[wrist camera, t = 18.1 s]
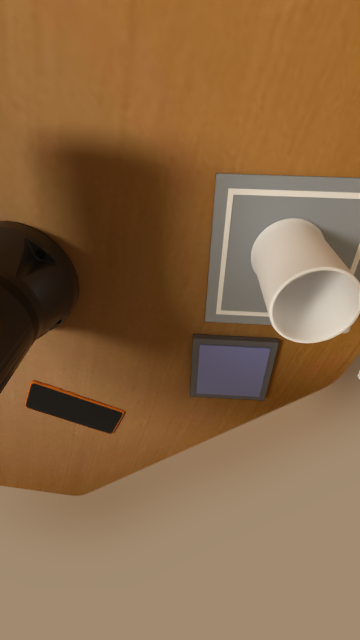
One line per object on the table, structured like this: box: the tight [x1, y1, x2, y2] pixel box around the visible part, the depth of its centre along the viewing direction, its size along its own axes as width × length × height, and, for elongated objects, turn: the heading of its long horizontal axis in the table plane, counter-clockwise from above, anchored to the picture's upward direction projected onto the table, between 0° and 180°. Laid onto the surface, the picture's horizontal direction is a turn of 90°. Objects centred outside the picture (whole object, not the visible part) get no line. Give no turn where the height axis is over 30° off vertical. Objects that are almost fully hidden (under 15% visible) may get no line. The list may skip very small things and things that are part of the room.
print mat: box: [205, 173, 360, 325], centre depth 39 cm, size 19×19×1 cm
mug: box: [251, 218, 360, 343], centre depth 34 cm, size 12×8×12 cm
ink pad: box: [190, 334, 279, 401], centre depth 49 cm, size 12×12×1 cm
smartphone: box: [25, 380, 125, 434], centre depth 58 cm, size 8×17×1 cm, turn 65°
